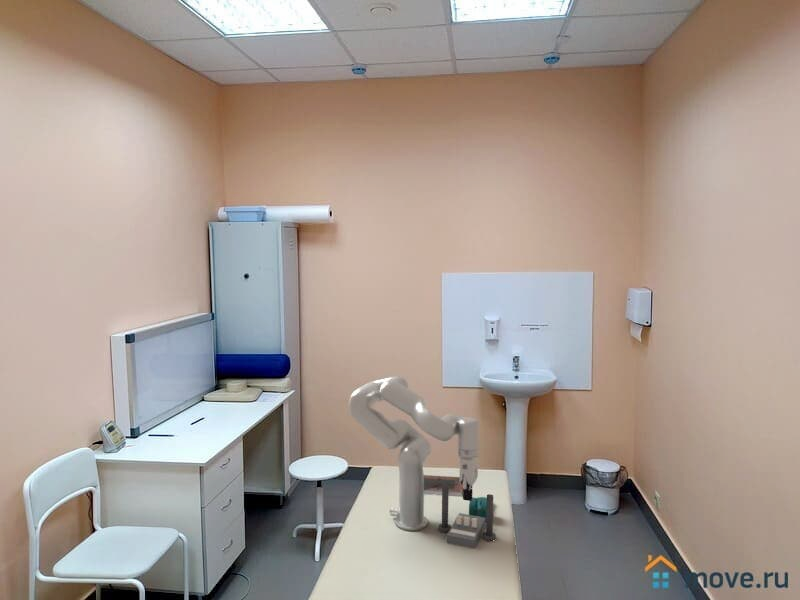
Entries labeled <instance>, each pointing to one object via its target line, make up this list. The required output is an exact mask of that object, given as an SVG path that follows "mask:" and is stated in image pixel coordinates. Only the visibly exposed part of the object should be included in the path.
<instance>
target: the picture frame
mask: <svg viewBox="0 0 800 600" xmlns="http://www.w3.org/2000/svg"><path fill="white" fill-rule="evenodd" d="M443 487H447V488H449V496H448V497H450V496H452V497H463V483H462V484H460V479H459V476H449V475H448V476H445V475H431V474H428V475H427V474H424V495H433V494H436V495H437V496H442V488H443ZM436 495H435V496H436Z"/></svg>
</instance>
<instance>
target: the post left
mask: <svg viewBox="0 0 800 600" xmlns="http://www.w3.org/2000/svg"><path fill="white" fill-rule="evenodd" d="M449 497H450V496H449V488H447V487H443V488H442V495H441V523H439V524H438V526H437V527H438V528H437V529H438V532H440V533H441V534H442V533H443V534H447V533H448V532H449V530H450V528H451V527H452V525H451V524H449Z"/></svg>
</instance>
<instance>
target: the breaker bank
mask: <svg viewBox="0 0 800 600" xmlns="http://www.w3.org/2000/svg"><path fill="white" fill-rule="evenodd" d="M455 520H456V524H458V525H461V524H462V520H464V526H469V525H470V521H472V527H474V528H477V520H478V519H476V518H472V519H471V518H470V517H462V516H460V515H459V514H456V517H455Z"/></svg>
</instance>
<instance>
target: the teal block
mask: <svg viewBox="0 0 800 600" xmlns="http://www.w3.org/2000/svg"><path fill="white" fill-rule="evenodd" d="M486 507H487V496H480V497H473V496H472V500H471V501H469V503H468V515H473V516H479V517H484V518H486ZM485 524H486V521H485Z"/></svg>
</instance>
